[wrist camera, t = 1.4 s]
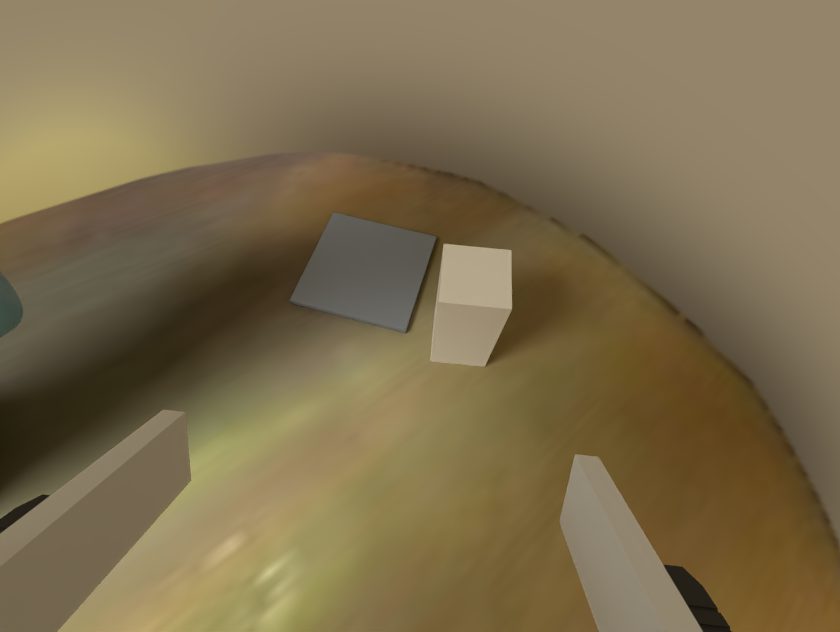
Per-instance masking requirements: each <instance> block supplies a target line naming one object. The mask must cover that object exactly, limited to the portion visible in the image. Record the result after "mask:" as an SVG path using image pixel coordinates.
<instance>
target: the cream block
mask: <svg viewBox="0 0 840 632" xmlns="http://www.w3.org/2000/svg"><path fill="white" fill-rule="evenodd" d="M511 310H512V267H511V250H503V249H493V248H482V247H472V246H461V245H451V244H444V245H443V253H442V260H441V268H440V276H439V283H438V291H437V299H436V306H435V314H434V325H433V336H432V348H431V359H430V361H434V362H444V363H454V364H464V365H474V366H483V367H485V365H486V363H487V361H488V359H489V357H490V355H491V352H492V350H493V348H494V346H495V344H496V342H497V340H498V338H499V336H500V334H501V331H502V329H503V327H504V325H505V323H506V321H507V319H508V317H509V315H510V313H511Z"/></svg>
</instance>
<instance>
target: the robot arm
mask: <svg viewBox="0 0 840 632" xmlns="http://www.w3.org/2000/svg"><path fill="white" fill-rule="evenodd" d="M22 316H23V307H22V304H21V301H20V299H19V297H18V295H17V293H16V292H15V290H14V289H13V287H12V286H11V284H10V283H9V282H8V280H7V279H6V278H5V277H4V275H3V274H2V273H1V272H0V338H1V337H2V336H4V335H5V334H7V333H8V332H10V331H11V330H13V329H14V328H15V327H16V326H17V325H18V324H19V323H20V321H21V319H22ZM190 481H191V472H190V460H189V449H188V437H187V426H186V414H185V412H181V411H171V410H162V411H161V412H159V413H158V414H157V415H155V416H154V417H153V418H151V419H150V420H149V421H148V422H146V423H145V424H144V425H142V426H141V427H140V428H138V429H137V430H136V431H134V432H133V433H132V434H130V435H129V436H128V437H127V438H125V439H124V440H123V441H121V442H120V443H119V444H117V445H116V446H115V447H113V448H112V449H111V450H109V451H108V452H107V453H105V454H104V455H103V456H102V457H100V458H99V459H98V460H96V461H95V462H94V463H92V464H91V465H90V466H88V467H87V468H86V469H84V470H83V471H82V472H81V473H79V474H78V475H77V476H75V477H74V478H73V479H71V480H70V481H69V482H67V483H66V484H65V485H63V486H62V487H61V488H60V489H58V490H57V491H56V492H54V493H53V494H52V495H41V496H39V497H37V498H35V499H33V500H31V501H29V502H27V503H25V504H23V505H21V506H19V507H17V508H15V509H14V510H12V511H11V512H9V513H8V514H7V515H5V516H4V517H3V518H1V519H0V632H57V631H58V630H59V629H60V628H61V627H62V625H63V624H64V623H65V622H66V621H67V620H68V619H69V618H70V616H71V615H72V614H73V613H74V612H75V611H76V610H77V609H78V607H79V606H80V605H81V604H82V603H83V602H84V601H85V599H86V598H87V597H88V596H89V595H90V594H91V593H92V592H93V590H94V589H95V588H96V587H97V586H98V585H99V584H100V583H101V581H102V580H103V579H104V578H105V577H106V576H107V575H108V574H109V572H110V571H111V570H112V569H113V568H114V567H115V566H116V565H117V563H118V562H119V561H120V560H121V559H122V558H123V557H124V556H125V554H126V553H127V552H128V551H129V550H130V549H131V548H132V547H133V545H134V544H135V543H136V542H137V541H138V540H139V539H140V538H141V536H142V535H143V534H144V533H145V532H146V531H147V530H148V528H149V527H150V526H151V525H152V524H153V523H154V522H155V521H156V519H157V518H158V517H159V516H160V515H161V514H162V513H163V512H164V510H165V509H166V508H167V507H168V506H169V505H170V504H171V503H172V501H173V500H174V499H175V498H176V497H177V496H178V495H179V494H180V492H181V491H182V490H183V489H184V488H185V487H186V486H187V485H188V483H189V482H190ZM560 525H561V528H562V531H563V533H564V536H565V539H566V542H567V544H568V547H569V550H570V553H571V556H572V558H573V561H574V564H575V567H576V570H577V572H578V575H579V578H580V581H581V584H582V586H583V589H584V592H585V595H586V597H587V600H588V603H589V606H590V609H591V611H592V614H593V617H594V620H595V623H596V625H597V628H598V631H599V632H731V631H730V626H729V625H728V623H727V622H726V620H725V619H724V617H723V616H722V614H721V613H718V610H717V609H718V608H717V607H716V605H715V604H714V602H713V601H712V599H711V598H710V596H709V595H708V593H707V592H706V590H705V589H704V587H703V586H702V585H701V584H700V583H699V582H698V581H697V580H696V579H694V578H693V577H692V576H691V575H690V574H689V573H688V572H687V571H686V570H685V569H684V568H683V567H679V566H670V565H663V564H662V562H661V561H660V559H659V557H658V556H657V554H656V552H655V551H654V549H653V547H652V546H651V544H650V542H649V541H648V539H647V537H646V536H645V534H644V532H643V531H642V529H641V527H640V526H639V524H638V522H637V521H636V519H635V517H634V516H633V514H632V512H631V511H630V509H629V507H628V506H627V504H626V502H625V501H624V499H623V497H622V495H621V494H620V492H619V490H618V489H617V487H616V485H615V484H614V482H613V480H612V479H611V477H610V475H609V474H608V472H607V470H606V469H605V467H604V465H603V464H602V462H601V460H600V459H599V457H596V456H586V455H577V454H575V456H574V461H573V465H572V469H571V474H570V478H569V482H568V487H567V491H566V495H565V500H564V504H563V508H562V513H561V517H560Z"/></svg>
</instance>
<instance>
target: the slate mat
mask: <svg viewBox="0 0 840 632" xmlns="http://www.w3.org/2000/svg"><path fill="white" fill-rule="evenodd" d="M435 241H436V236H432V235H428V234H423V233H419V232H415V231H411V230H407V229H402V228H398V227H394V226H390V225H385V224H381V223H377V222H373V221H369V220H364V219H360V218H356V217H352V216H348V215H343V214H339V213H335V212H333V214H332V216H331V218H330V220H329V222H328V224H327V226H326V228H325V230H324V232H323V234H322V236H321V238H320V240H319V242H318V244H317V246H316V248H315V250H314V252H313V254H312V256H311V258H310V260H309V262H308V264H307V266H306V268H305V270H304V272H303V274H302V276H301V278H300V280H299V282H298V284H297V286H296V288H295V290H294V292H293V294H292V296H291V298H290V300H289V301H290V303H293V304H296V305H300V306H304V307H308V308H312V309H315V310H319V311H323V312H327V313H330V314H334V315H338V316H342V317H346V318H349V319H353V320H357V321H361V322H365V323H368V324H372V325H376V326H380V327H384V328H387V329H391V330H395V331H399V332H403V333H406V330H407V327H408V324H409V321H410V318H411V315H412V312H413V309H414V306H415V303H416V300H417V297H418V294H419V290H420V287H421V284H422V281H423V278H424V275H425V272H426V269H427V266H428V263H429V260H430V257H431V254H432V251H433V248H434V244H435Z"/></svg>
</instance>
